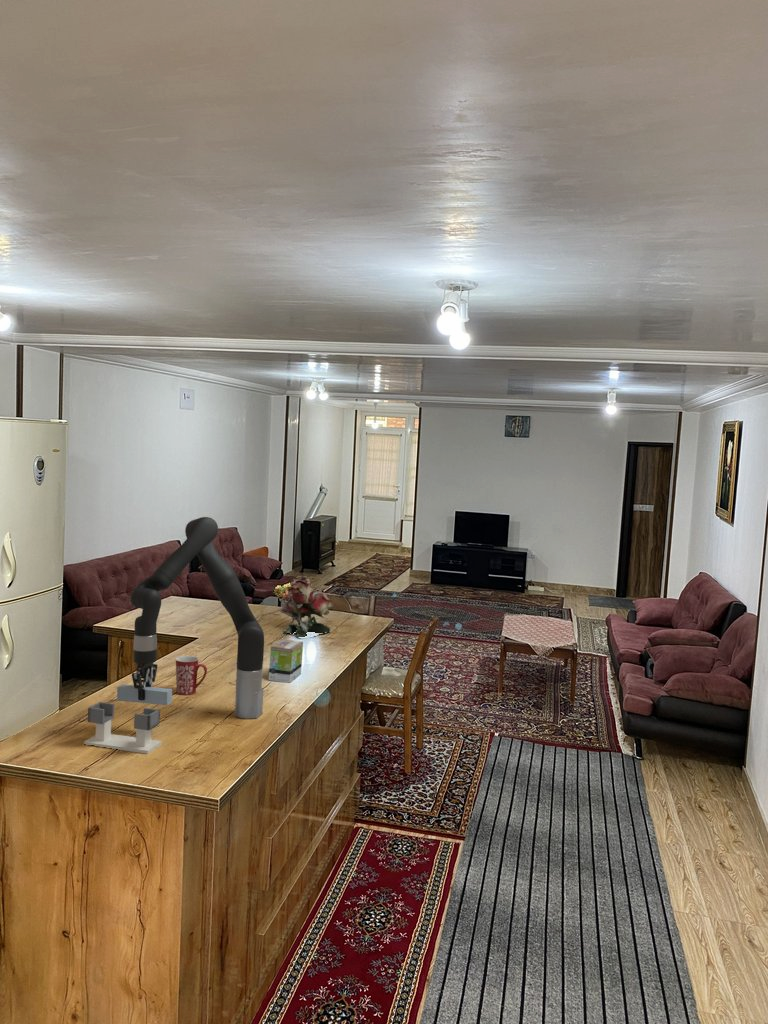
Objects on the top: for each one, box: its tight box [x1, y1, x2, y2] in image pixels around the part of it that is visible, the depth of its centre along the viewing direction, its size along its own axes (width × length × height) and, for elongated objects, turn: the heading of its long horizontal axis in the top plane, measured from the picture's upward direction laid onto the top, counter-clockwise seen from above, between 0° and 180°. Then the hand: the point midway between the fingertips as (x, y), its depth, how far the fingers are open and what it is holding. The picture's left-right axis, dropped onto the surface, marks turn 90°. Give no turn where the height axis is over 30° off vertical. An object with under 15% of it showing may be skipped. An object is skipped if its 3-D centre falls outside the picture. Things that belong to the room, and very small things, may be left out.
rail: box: [116, 684, 173, 706], centre depth 267 cm, size 18×4×4 cm, turn 79°
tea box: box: [268, 639, 304, 683], centre depth 339 cm, size 15×10×15 cm, turn 168°
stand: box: [83, 701, 162, 755], centre depth 254 cm, size 22×9×12 cm, turn 78°
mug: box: [174, 655, 208, 696], centre depth 311 cm, size 13×9×14 cm
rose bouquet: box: [279, 575, 334, 638], centre depth 426 cm, size 26×29×30 cm
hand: (144, 697), depth 267 cm, fingers closed on rail, 3 cm apart
